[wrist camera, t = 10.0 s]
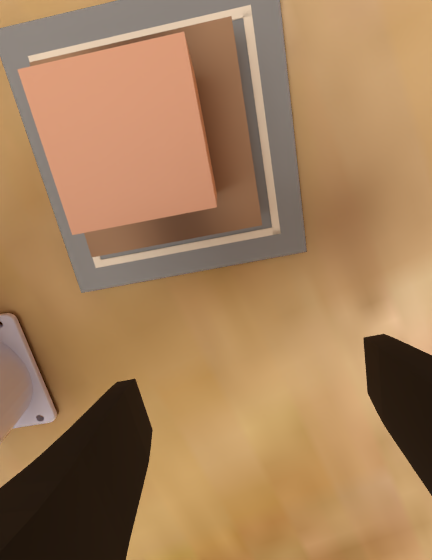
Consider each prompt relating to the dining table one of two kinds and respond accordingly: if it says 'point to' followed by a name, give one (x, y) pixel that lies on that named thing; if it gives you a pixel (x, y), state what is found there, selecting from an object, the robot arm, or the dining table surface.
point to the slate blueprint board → (259, 112)
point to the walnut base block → (221, 142)
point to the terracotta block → (123, 133)
